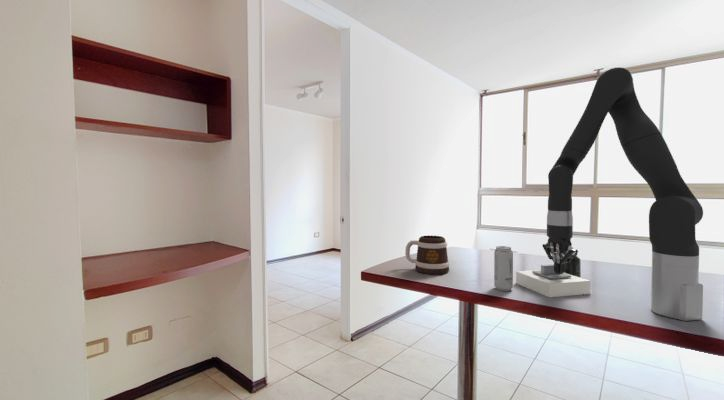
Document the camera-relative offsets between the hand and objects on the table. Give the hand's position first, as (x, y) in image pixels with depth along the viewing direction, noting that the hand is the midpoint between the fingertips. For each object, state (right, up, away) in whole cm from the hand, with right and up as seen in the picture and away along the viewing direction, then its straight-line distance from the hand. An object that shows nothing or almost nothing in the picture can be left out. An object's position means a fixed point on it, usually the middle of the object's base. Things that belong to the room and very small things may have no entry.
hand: (558, 273), depth 106 cm
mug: (-39, -6, +31) cm, 50 cm away
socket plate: (-1, -6, +4) cm, 7 cm away
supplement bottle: (+13, -6, +13) cm, 20 cm away
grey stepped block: (-1, -1, +3) cm, 4 cm away
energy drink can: (-18, -7, +3) cm, 19 cm away
